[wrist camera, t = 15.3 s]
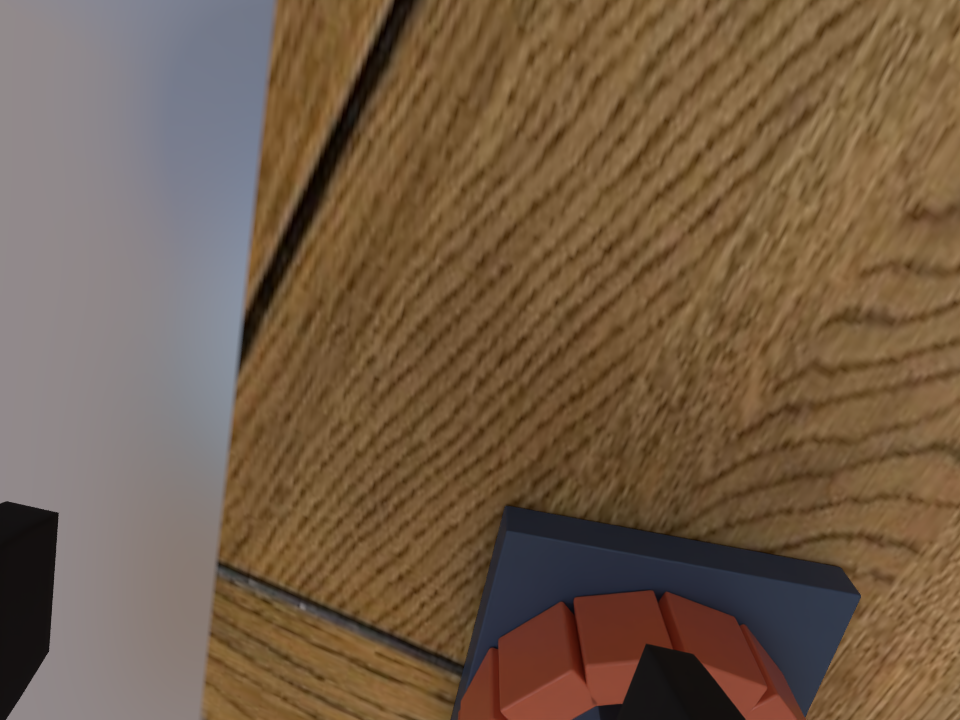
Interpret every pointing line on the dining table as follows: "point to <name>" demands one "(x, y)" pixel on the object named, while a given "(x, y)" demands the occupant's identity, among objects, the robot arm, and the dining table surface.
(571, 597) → the ring stacking peg
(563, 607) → the segmented red ring
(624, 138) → the dining table surface
